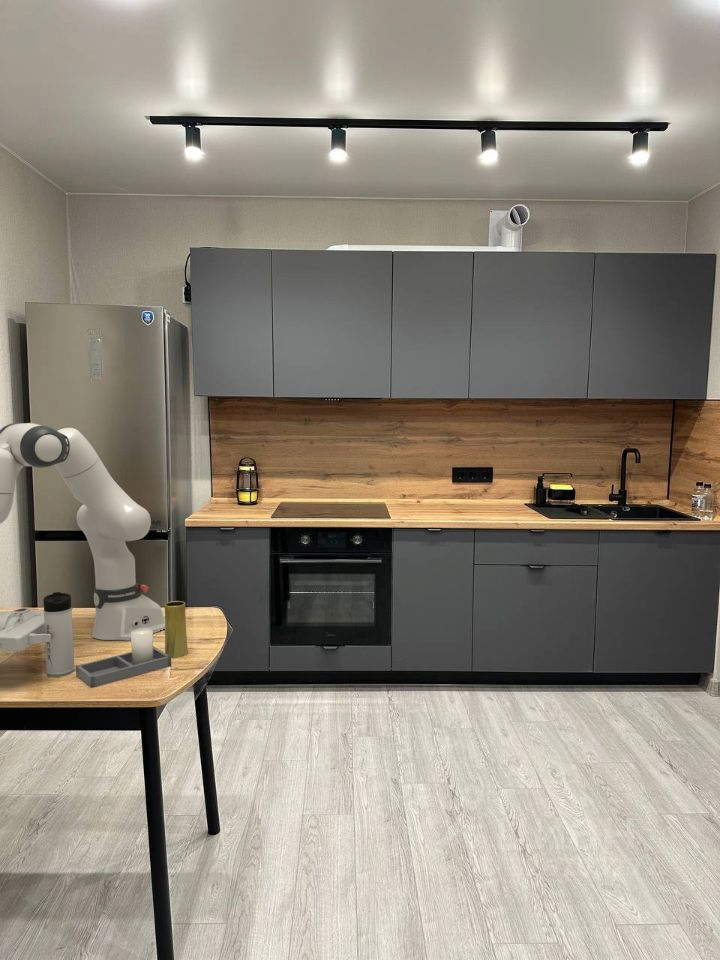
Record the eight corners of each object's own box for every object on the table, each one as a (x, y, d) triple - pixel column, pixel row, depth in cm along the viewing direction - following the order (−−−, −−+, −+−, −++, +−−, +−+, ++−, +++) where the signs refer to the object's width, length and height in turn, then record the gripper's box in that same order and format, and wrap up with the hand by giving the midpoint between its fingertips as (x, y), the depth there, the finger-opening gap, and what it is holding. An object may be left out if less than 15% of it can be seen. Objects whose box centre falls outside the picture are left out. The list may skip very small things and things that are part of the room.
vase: (163, 653, 179) (162, 601, 177) (187, 650, 181) (185, 599, 180) (165, 661, 173) (163, 608, 172) (189, 658, 175) (188, 605, 174)
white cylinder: (148, 660, 172) (147, 626, 171) (157, 665, 169) (156, 631, 168) (128, 665, 169) (127, 630, 168) (137, 671, 165) (136, 636, 164)
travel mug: (73, 667, 169) (70, 590, 167) (75, 676, 163) (71, 596, 161) (46, 671, 166) (42, 593, 164) (47, 681, 161) (43, 600, 158)
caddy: (153, 657, 176) (153, 646, 176) (171, 668, 169) (170, 656, 168) (76, 677, 163) (75, 665, 162) (91, 690, 155) (91, 677, 155)
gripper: (-21, 631, 154) (38, 632, 153) (27, 605, 174) (79, 606, 173) (-19, 657, 154) (39, 658, 154) (29, 629, 175) (80, 629, 174)
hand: (61, 630), depth 164 cm, fingers open, 8 cm apart
